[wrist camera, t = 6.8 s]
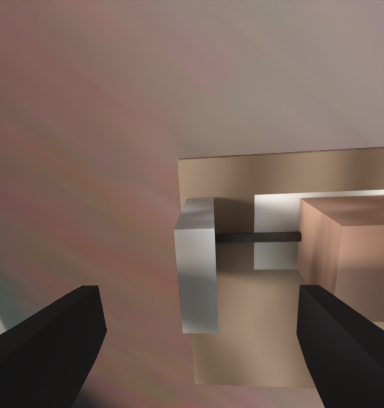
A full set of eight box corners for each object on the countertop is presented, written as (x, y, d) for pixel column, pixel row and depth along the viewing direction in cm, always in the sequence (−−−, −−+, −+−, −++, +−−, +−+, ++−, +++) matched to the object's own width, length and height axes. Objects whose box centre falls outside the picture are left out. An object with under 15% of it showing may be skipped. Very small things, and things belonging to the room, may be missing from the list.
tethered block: (384, 190, 13) (486, 220, 8) (371, 270, 14) (453, 337, 9) (186, 198, 14) (173, 229, 9) (191, 272, 15) (182, 332, 10)
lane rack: (513, 139, 13) (627, 139, 9) (444, 376, 18) (503, 436, 14) (179, 158, 15) (170, 164, 11) (195, 369, 19) (192, 420, 16)
